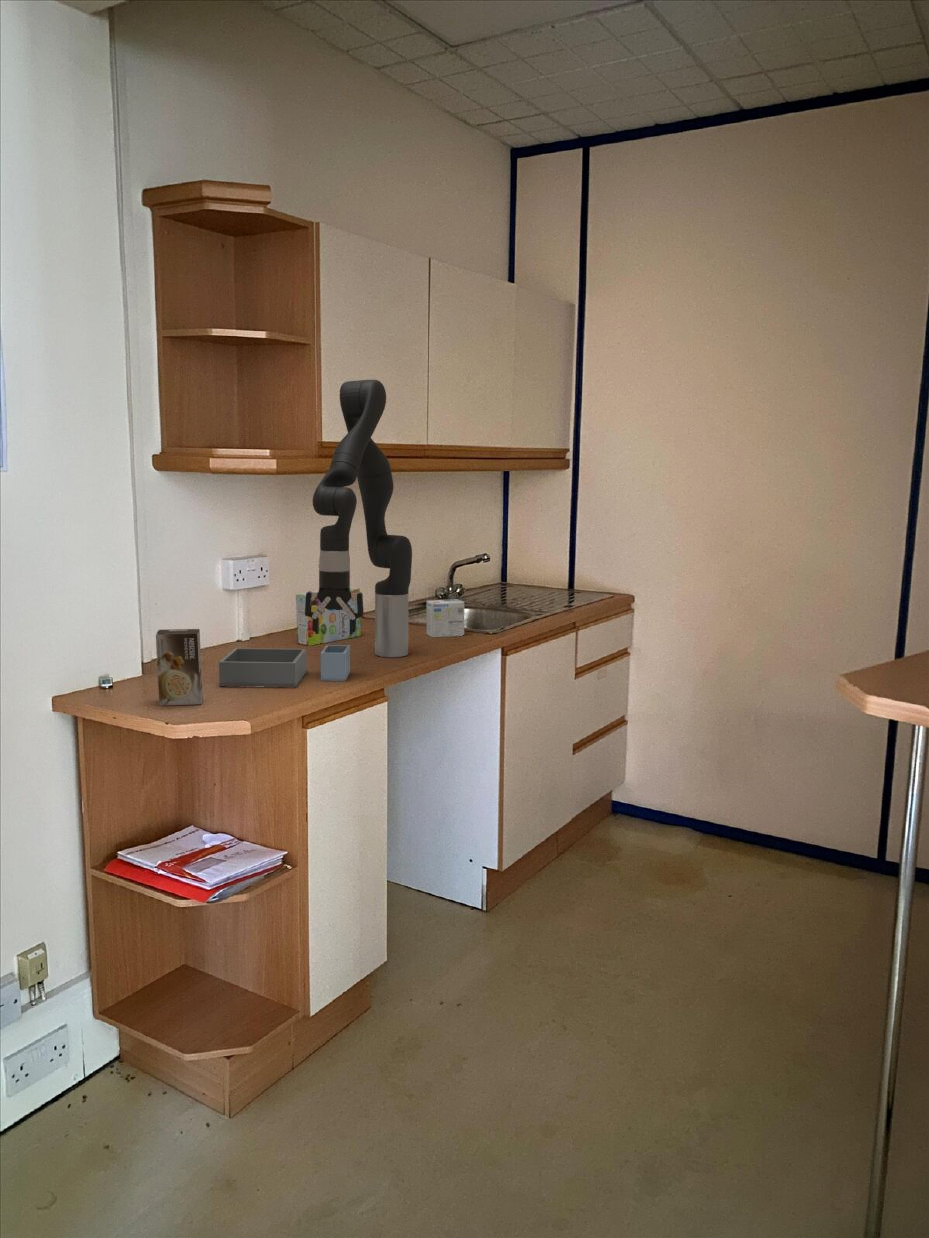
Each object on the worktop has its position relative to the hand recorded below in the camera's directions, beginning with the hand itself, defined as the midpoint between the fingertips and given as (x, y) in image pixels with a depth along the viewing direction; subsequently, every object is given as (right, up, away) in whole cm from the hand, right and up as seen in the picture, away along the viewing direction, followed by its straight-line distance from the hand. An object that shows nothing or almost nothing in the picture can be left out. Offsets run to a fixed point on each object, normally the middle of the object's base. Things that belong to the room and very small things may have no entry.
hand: (334, 633), depth 242 cm
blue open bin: (0, -11, +2) cm, 11 cm away
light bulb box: (+26, -2, +60) cm, 66 cm away
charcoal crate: (-17, -11, -2) cm, 20 cm away
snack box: (-8, -3, +49) cm, 50 cm away
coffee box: (-31, -15, -25) cm, 42 cm away
